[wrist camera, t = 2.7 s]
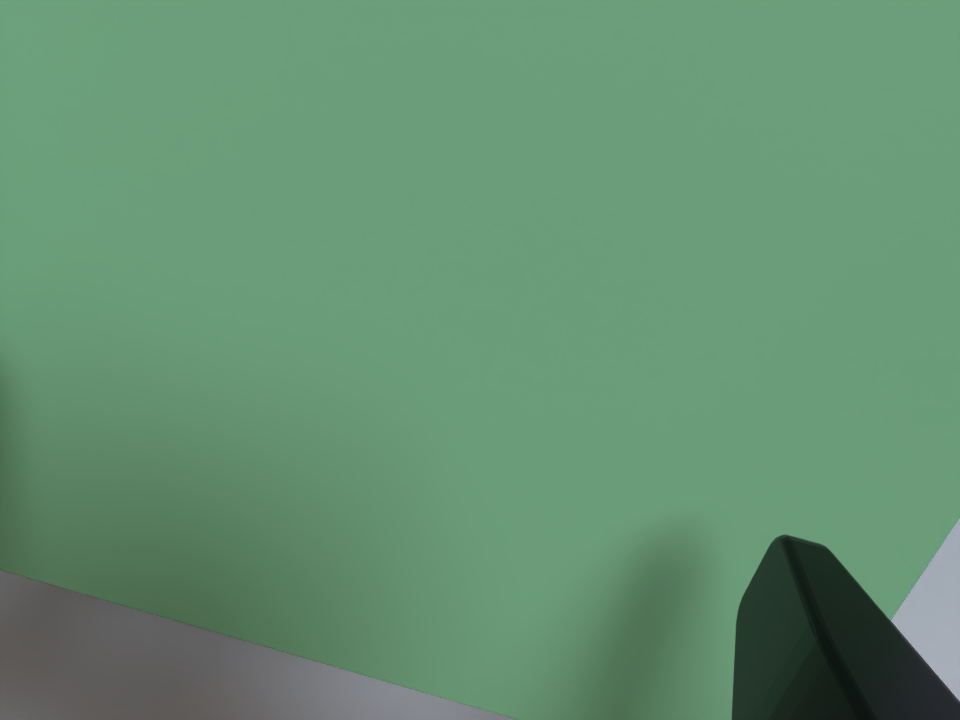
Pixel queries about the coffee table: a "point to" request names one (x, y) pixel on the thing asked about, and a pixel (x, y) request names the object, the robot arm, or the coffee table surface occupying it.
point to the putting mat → (478, 324)
